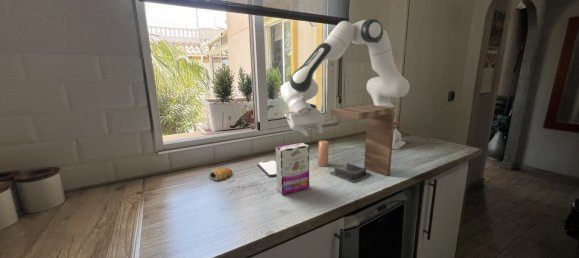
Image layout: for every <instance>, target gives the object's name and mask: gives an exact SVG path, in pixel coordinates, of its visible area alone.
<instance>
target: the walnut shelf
mask: <svg viewBox="0 0 579 258" xmlns="http://www.w3.org/2000/svg"><path fill="white" fill-rule="evenodd" d="M395 109H396V106H394V107H388V106H378V105H374V104H363V105H355V106H349V107H341V108H334V109H330V116H331V117H333V116H334V117H339V118H346V119H351V120H352V119H353V120H364V119H366V127H365V128H366V131H365V146H364V163H363V168H365V169H366V171H370V172H373V173H376V174H379V175H383V176H386V177H388V176H390V175H391V168H392V167H391V166H392V154H393V149H392V143H393V131H394V118H395V119H396V113H395Z"/></svg>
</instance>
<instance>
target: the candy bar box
mask: <svg viewBox="0 0 579 258" xmlns="http://www.w3.org/2000/svg"><path fill="white" fill-rule="evenodd" d="M275 161H276V172H277V176H276V190H277V192H279V193H280V194H281V195H282V196H285V195H289V194H293V193H297V192H300V191H305V190H308V189H310V145H309V144H307V143H304V142H299V143H294V144H286V145H281V146H276V147H275Z"/></svg>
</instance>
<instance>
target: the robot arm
mask: <svg viewBox="0 0 579 258" xmlns="http://www.w3.org/2000/svg"><path fill="white" fill-rule="evenodd" d="M365 44H366V45H367V47H368V53H369V54H368V55H369V59H370V63H371V69H372V70H373V71H374V72H376V74H378V76H374V77H371V78H369V80H367V82H366V91H367V93H368V94H369V96H371V99H372V101H373V105H378V106H388V107H395V105H394V104H392V103H393V102H391V98H393V99H398V98H403V97H406V96H407V94H408V93H409V91H410V88H411V87H410V86H411V85H410V82H409V81H408V79H407V78H405V77H404V76H403V75H402V74H401V73H400V71H399V70H398V68H397V66H396V63H395V59H394V55H393V49H392V44H391V40H390V38H389V35H388V32H387V31H386V30H385V29H383V26H382V23H381V22H380V20H378V19H375V18H368V19H362V20H359V21H357V22H354V23H351V22H350V21H348V20H342V21H339V22H338V23H337V25H336V26H335V27H334V28H333V29H332V30H331V31H330V33H329V34H328V36H327V37H326V38H325V40H324V41H323V42H322V43H320V44H319V45H318V46H317V47H316V48H315V49H314V50H313V52H311V54H310V55H309V56H308V58H307V59H306V61H305V62H303V64H302V65H301V66H300V67H298V68H297V69H296V70H295V71H294V72H293V73H292V74H291V77H290V78H289V81H286V82H284V83H283V84H282V85H281V87H280V95H281V97H282V100H283V102H284V103H285V105H287V107H288V110H289V111H287V112H286V113H285V115H284V116H285V119H286V120H287V123H288V125H289V128H290V129H291V130H292V131H299V132H300V133H302V134H303V135H304V137H308V136H309V135H310V132H309V131H308V130H306V129H308V128H313V127H316V128H318V129H317V132H318V133H319V134H322V133H323V132H324V129H323V126H322V125H323V124H324V123H325V121H326V119H325V118H326V117H324V115H323V113H322V112H321V111H320V110H319V109H318V106H317V104H314V103H313V104H312V103H309V102H307V101H309V100H310V99H312V98H314V97H315V96H317V95H318V92H319V85H318V84H317V82H316V80H315V79H314V78H313V77H314V74H315V72H316V71H317V70H318V69H319V67H320V66H321V65H322V63H323V62H324V61H326V60H328V61H337V60H339V59H340V58H341V57H342V56H343V55H344V54H345V52H346V50H347V49H348V47H349V46H350V45H352V46H353V45H355V46H356V45H365ZM396 112H397V111H396V108H395V114H396ZM398 125H399V122H398V121H396V117H395V118H394V131H393V143H392V150H399V149H401V147H403V146H404V145H406V142H405V141H403V140H402V133H401V132H399V129H397V126H398Z"/></svg>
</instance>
